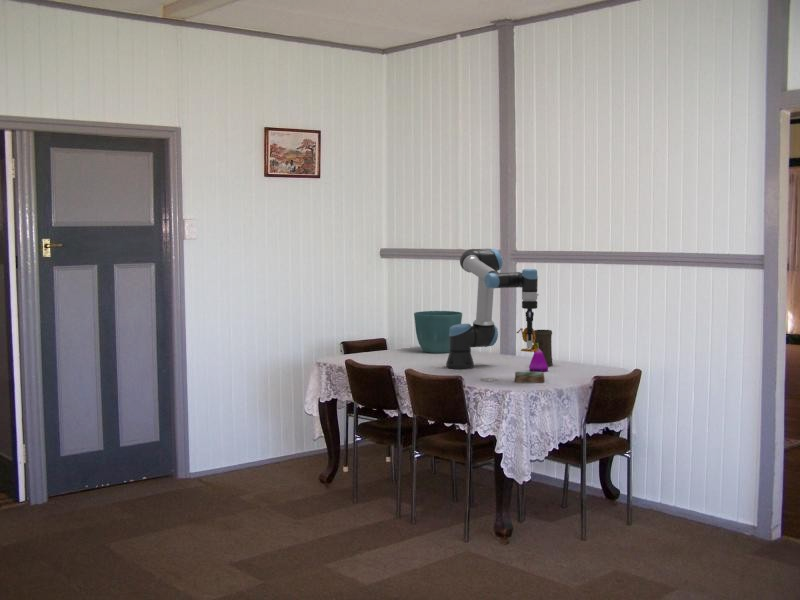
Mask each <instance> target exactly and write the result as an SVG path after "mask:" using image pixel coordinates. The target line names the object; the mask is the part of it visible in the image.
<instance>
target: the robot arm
mask: <svg viewBox="0 0 800 600" xmlns="http://www.w3.org/2000/svg"><path fill="white" fill-rule="evenodd" d="M459 265H460V267H461V268H462V270H464V271H465V273H466V272H467V273H470V274H471V273H472V274H473V275H475V276H476V277H478V279H477V297H476V299H477V300H476V315H475V317H476V318H475V320H473V321H472V325H471V324H470V323H461V324H458V325H454V326H451V327H450V331H449V352H448V356H447V360H446V364H445V365H446V366H445V367H446V368H448V369H453V370H455V369H456V370H468V369H473V368H474V367H475V363H474V362H475V361H474V359H473V355H472V348H483V347H484V348H487V347H492V346H494V345H495V344H496V343H497V341H498V337H499V336H498V335H499V331H498V327H497V326H496V325H495V322H494V321H493V320H492V319H493V304H494V291H495V289H504V288H505V289H509V288H510V289H513V288H521V308H522V309H523V310H526V311H525V321H526V328H527V332H526V334H527V342H526V348H528V347H531V348H532V345H533V343H532V332H533V331H532V328H533V321H534V316H535V313H534V311H533V309H534V310H536V309H538V296H539V295H540V294H539V293H538V278H539V276H538V270H537V269H535V268H524V269H522V271H521V272H520V271H515V272H499V271H500V270H501V269H502V267H503V258H502V254H501V252H500V251H499V250H498V249H495V248H471V249H470V248H469V249H468V250H466V251H464V252H462V254H461V256H460V258H459Z"/></svg>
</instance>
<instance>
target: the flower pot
mask: <svg viewBox="0 0 800 600" xmlns="http://www.w3.org/2000/svg"><path fill="white" fill-rule="evenodd" d="M413 316H414V317H413V318H414V325H415V334H416V338H417V342H418V345H419V346H420V348H421V349H422V351H423V352H424V353H431V354H445V353H449V331H450V327H451V326H454V325H458V324H462V321H463V312H461V311H453V310H423V311H416V312H413Z"/></svg>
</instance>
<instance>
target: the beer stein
mask: <svg viewBox="0 0 800 600" xmlns="http://www.w3.org/2000/svg"><path fill="white" fill-rule="evenodd" d="M534 331H535V337H536V338H535V340H534V341H535V343H538V346H539V349H540V350H541V351H542V353H543V355H544V358H545V361H546V363H547V366H548V368H549V367H553V366H554V363H553V355H552V352H553V351H552V349H553V347H552V335H553V331H552V330H551V329H534ZM535 346H537V345H535ZM536 348H537V347H536Z"/></svg>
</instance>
